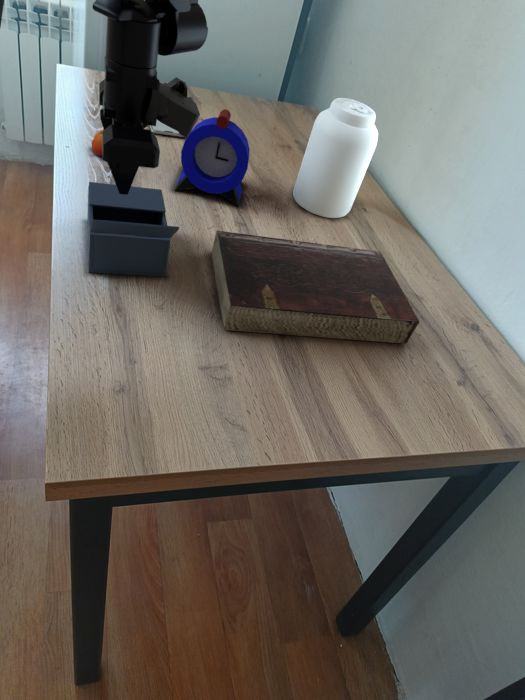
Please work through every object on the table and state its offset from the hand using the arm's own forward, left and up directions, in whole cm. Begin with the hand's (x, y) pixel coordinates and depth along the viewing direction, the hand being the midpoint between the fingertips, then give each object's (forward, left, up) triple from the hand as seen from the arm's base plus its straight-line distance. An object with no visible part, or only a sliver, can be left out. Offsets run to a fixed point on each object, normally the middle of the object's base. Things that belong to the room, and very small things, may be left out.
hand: (122, 182), depth 72 cm
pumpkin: (+1, +35, -13) cm, 38 cm away
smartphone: (+13, +53, -13) cm, 57 cm away
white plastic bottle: (+42, +24, -13) cm, 50 cm away
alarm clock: (+19, +26, -13) cm, 35 cm away
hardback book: (+29, -7, -13) cm, 33 cm away
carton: (+1, +3, -13) cm, 14 cm away
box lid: (+2, -5, -4) cm, 6 cm away
